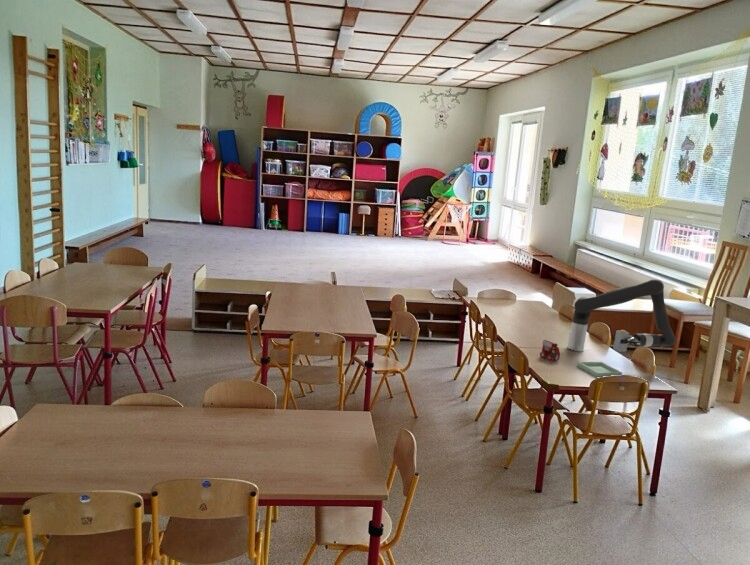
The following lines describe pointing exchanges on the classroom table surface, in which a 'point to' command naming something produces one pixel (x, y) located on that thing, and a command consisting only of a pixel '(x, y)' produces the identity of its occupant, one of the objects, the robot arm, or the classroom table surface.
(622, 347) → the block
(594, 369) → the green tray
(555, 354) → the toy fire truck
